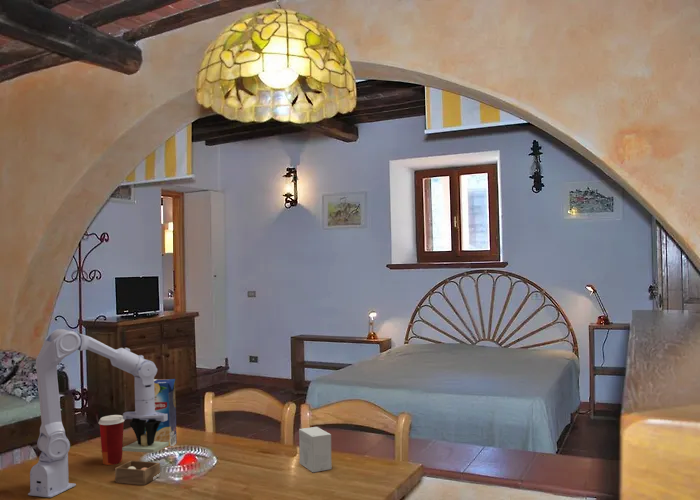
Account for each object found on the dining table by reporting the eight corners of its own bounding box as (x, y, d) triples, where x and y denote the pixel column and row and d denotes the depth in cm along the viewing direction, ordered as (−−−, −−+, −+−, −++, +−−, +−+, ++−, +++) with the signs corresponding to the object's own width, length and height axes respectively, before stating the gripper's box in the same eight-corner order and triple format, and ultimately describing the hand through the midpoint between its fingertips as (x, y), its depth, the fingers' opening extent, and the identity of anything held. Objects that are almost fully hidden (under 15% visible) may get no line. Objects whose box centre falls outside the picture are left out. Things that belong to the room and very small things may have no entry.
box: (145, 485, 175) (144, 470, 175) (115, 482, 178) (114, 468, 178) (160, 476, 181) (159, 462, 181) (131, 474, 184) (130, 460, 184)
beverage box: (145, 443, 216) (144, 379, 216) (176, 443, 215) (175, 379, 215) (137, 449, 209) (136, 383, 209) (170, 449, 208) (168, 382, 209)
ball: (132, 479, 178) (132, 468, 178) (123, 478, 179) (123, 468, 179) (139, 475, 181) (138, 465, 181) (130, 474, 182) (130, 464, 182)
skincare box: (332, 469, 184) (331, 433, 184) (312, 473, 181) (311, 436, 181) (318, 459, 193) (317, 425, 193) (298, 463, 190) (298, 428, 190)
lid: (153, 452, 185) (153, 439, 185) (122, 450, 188) (122, 437, 188) (168, 445, 192) (168, 432, 192) (138, 443, 195) (138, 430, 195)
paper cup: (129, 458, 199) (128, 414, 200) (118, 466, 192) (117, 420, 192) (106, 458, 200) (105, 414, 200) (94, 466, 193) (93, 420, 193)
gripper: (173, 396, 192) (174, 441, 192) (133, 395, 196) (134, 438, 196) (159, 402, 185) (160, 448, 185) (118, 400, 189) (119, 445, 189)
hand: (145, 443), depth 190 cm, fingers closed on lid, 3 cm apart
